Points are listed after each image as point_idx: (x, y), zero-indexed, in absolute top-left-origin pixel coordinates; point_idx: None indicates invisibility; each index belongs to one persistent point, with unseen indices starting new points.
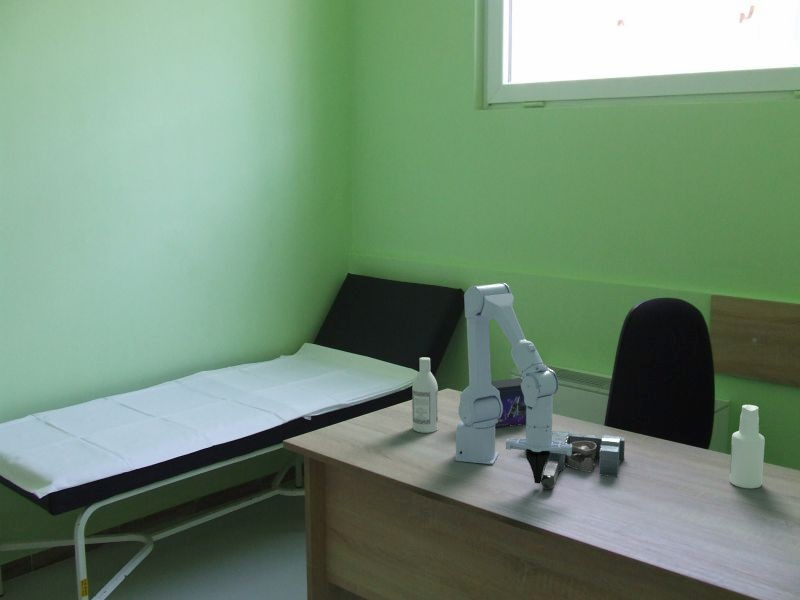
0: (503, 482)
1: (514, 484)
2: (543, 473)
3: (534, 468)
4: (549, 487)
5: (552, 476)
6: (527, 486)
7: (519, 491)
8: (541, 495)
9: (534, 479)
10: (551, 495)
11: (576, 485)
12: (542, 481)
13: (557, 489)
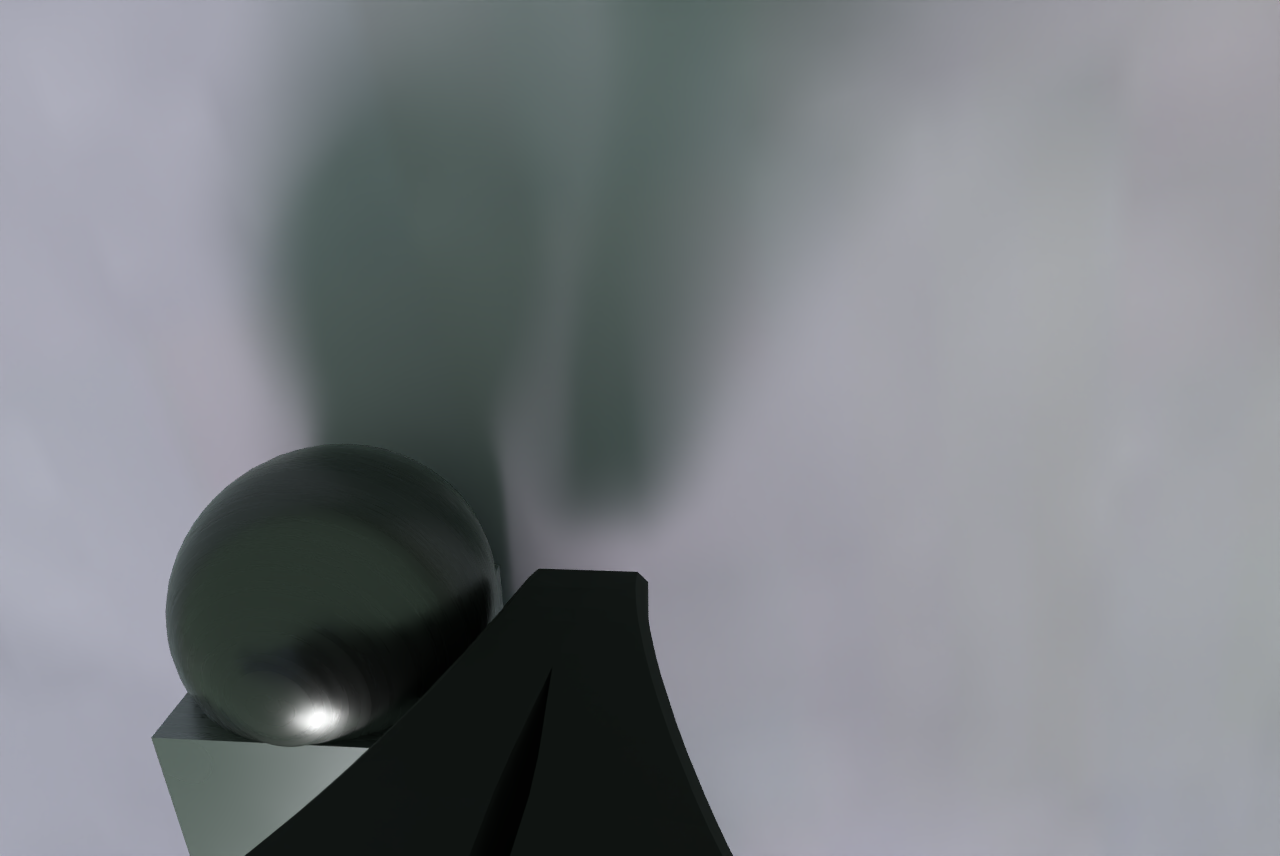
0: (1274, 660)
1: (1055, 621)
2: None
3: (598, 834)
4: (298, 451)
5: (194, 727)
6: (801, 590)
7: (946, 331)
8: (464, 250)
9: (640, 613)
10: (279, 305)
11: (61, 770)
12: (423, 536)
13: None
